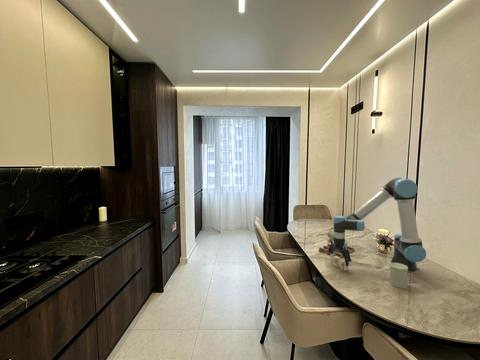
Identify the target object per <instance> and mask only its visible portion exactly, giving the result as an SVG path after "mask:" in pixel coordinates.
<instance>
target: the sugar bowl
mask: <svg viewBox="0 0 480 360" xmlns="http://www.w3.org/2000/svg"><path fill="white" fill-rule="evenodd" d="M326 234H327V236H328V239H329V240H330V242H331V241H334V227H331V228H329V229H328V231H327V233H326Z"/></svg>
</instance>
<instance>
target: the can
mask: <svg viewBox="0 0 480 360" xmlns="http://www.w3.org/2000/svg"><path fill="white" fill-rule="evenodd" d="M408 276H409V271H408V267H407V266H406V265H403V264H400V263H391V262H390V263H389V282H388V283H389V284H390V285H392V286H393V287H396V288H399V287H400V288H399V289H405V288H406V289H407V288H408V287H409V286H408V284H409V283H408Z"/></svg>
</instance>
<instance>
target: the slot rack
mask: <svg viewBox="0 0 480 360" xmlns="http://www.w3.org/2000/svg"><path fill="white" fill-rule="evenodd" d="M330 245H331V243H327V245H323V246H322V247H320V246H319V247H318V250H317V252H318V251H320V252H319V253H322V252H323V253H322V254H325V253H326V254H325V255H328V254H329V255H328V256H330V252H328V249H329V247H330ZM334 246H335V245H334ZM347 247H348V252H349V255H350V254H351V253H352V254H353V252H355V251H356V250H355V247H352V246H349V245H347ZM342 251H343V250H342ZM333 254H334V256H337V257H339V258H341V259H343V258H344V257H343V255H342V253H341V252H340V251H339V250H337V249H336V250H335V252H334V253H333Z"/></svg>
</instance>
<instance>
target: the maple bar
mask: <svg viewBox="0 0 480 360" xmlns="http://www.w3.org/2000/svg"><path fill="white" fill-rule="evenodd" d="M344 261H345V259H343V258H339V257H337V256H333V257H332V263H331V265H332V266H334V267H336V268H338V269H339V270H341V271H345V270H344Z"/></svg>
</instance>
